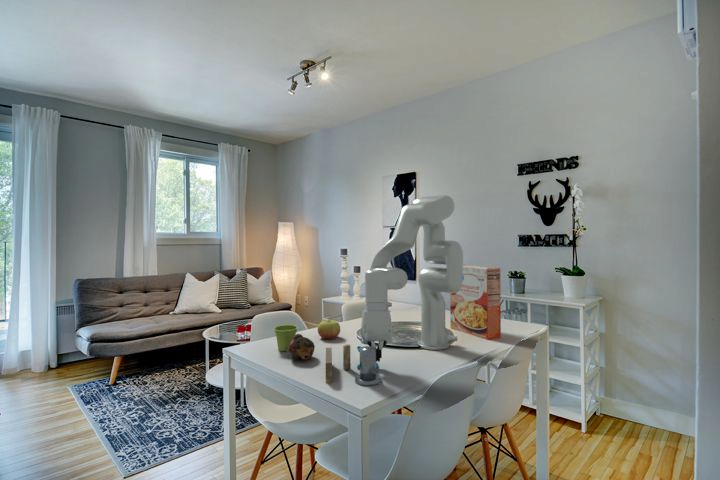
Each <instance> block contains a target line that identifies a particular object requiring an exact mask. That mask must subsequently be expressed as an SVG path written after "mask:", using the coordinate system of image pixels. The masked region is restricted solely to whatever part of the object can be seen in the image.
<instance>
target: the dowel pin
mask: <svg viewBox="0 0 720 480" xmlns="http://www.w3.org/2000/svg"><path fill="white" fill-rule="evenodd" d="M342 355H343V356H342V361H343V363H342V364H343V371H350V370H351V369H352V367H351V366H352V364H351V344H346V343H345V344H343V345H342Z"/></svg>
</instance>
